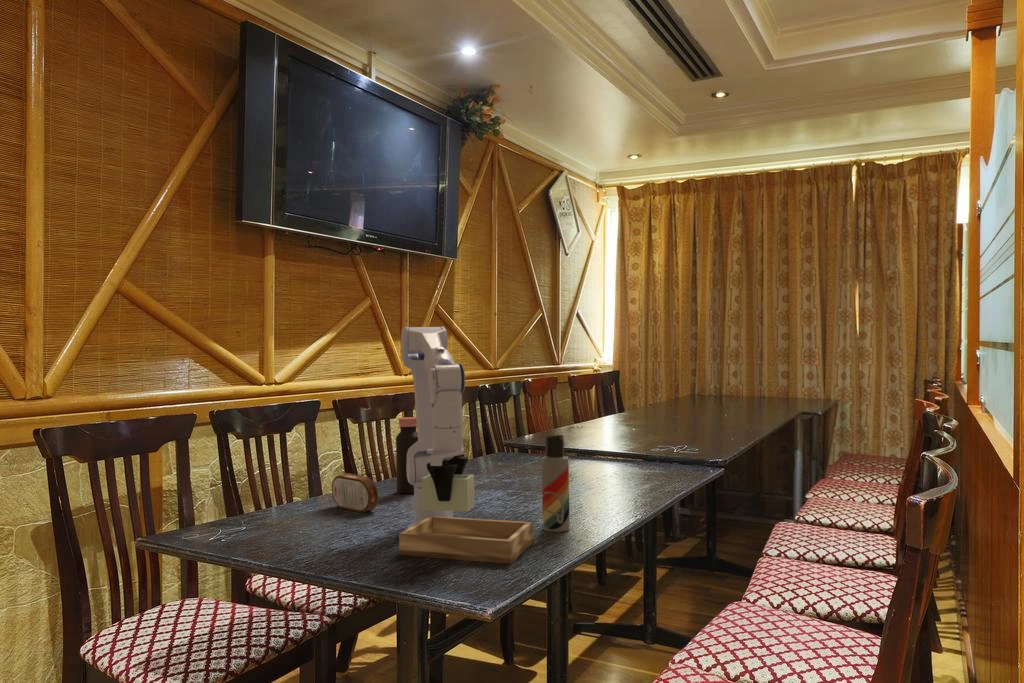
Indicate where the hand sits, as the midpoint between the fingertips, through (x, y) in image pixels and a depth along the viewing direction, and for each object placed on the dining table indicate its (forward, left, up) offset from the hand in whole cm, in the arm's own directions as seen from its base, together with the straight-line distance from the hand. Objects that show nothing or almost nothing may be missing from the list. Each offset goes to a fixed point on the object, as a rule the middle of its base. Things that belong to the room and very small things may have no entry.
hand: (448, 497), depth 133 cm
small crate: (0, 0, -2) cm, 2 cm away
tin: (-25, -36, -10) cm, 45 cm away
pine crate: (-1, +3, -10) cm, 10 cm away
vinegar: (-47, -32, -10) cm, 58 cm away
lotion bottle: (-19, +16, -10) cm, 27 cm away
